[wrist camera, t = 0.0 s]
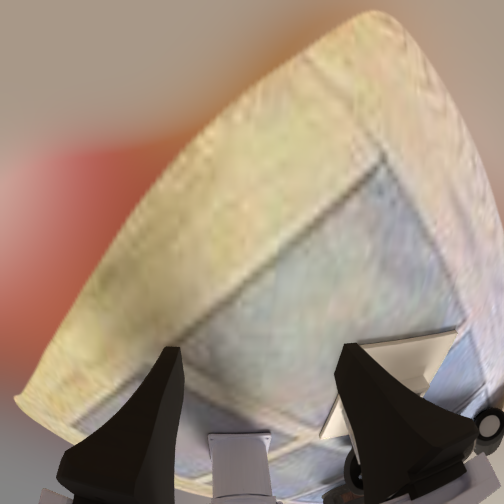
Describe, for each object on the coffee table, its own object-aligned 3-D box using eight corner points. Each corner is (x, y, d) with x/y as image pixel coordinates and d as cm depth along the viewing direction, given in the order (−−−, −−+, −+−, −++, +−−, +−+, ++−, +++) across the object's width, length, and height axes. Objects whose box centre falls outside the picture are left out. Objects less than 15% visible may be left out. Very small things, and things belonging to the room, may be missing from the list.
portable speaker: (464, 423, 43) (481, 452, 34) (496, 396, 41) (514, 424, 32) (468, 441, 52) (479, 463, 43) (493, 421, 50) (506, 442, 41)
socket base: (402, 418, 34) (408, 430, 32) (319, 436, 33) (323, 450, 31) (455, 329, 27) (466, 343, 25) (357, 345, 26) (366, 363, 23)
